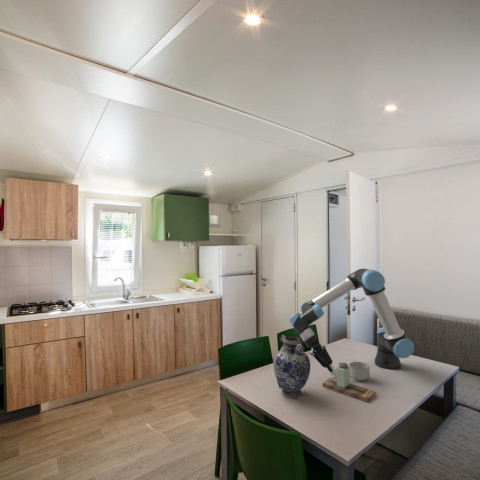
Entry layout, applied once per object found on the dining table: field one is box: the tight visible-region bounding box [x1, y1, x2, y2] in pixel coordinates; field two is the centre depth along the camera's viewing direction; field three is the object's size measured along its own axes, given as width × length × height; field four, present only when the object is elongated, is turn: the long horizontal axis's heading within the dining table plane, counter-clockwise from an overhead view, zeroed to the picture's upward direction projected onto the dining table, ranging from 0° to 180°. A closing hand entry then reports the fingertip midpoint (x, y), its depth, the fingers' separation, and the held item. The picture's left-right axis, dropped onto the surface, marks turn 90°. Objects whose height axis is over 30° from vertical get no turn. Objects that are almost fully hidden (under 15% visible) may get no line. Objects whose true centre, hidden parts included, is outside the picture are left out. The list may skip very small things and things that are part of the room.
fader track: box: [322, 377, 377, 403], centre depth 163 cm, size 24×10×2 cm, turn 46°
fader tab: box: [336, 362, 351, 388], centre depth 165 cm, size 4×7×11 cm, turn 136°
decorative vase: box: [273, 334, 311, 399], centre depth 161 cm, size 21×19×28 cm
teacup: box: [348, 360, 370, 382], centre depth 179 cm, size 14×11×8 cm
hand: (336, 376), depth 166 cm, fingers closed
